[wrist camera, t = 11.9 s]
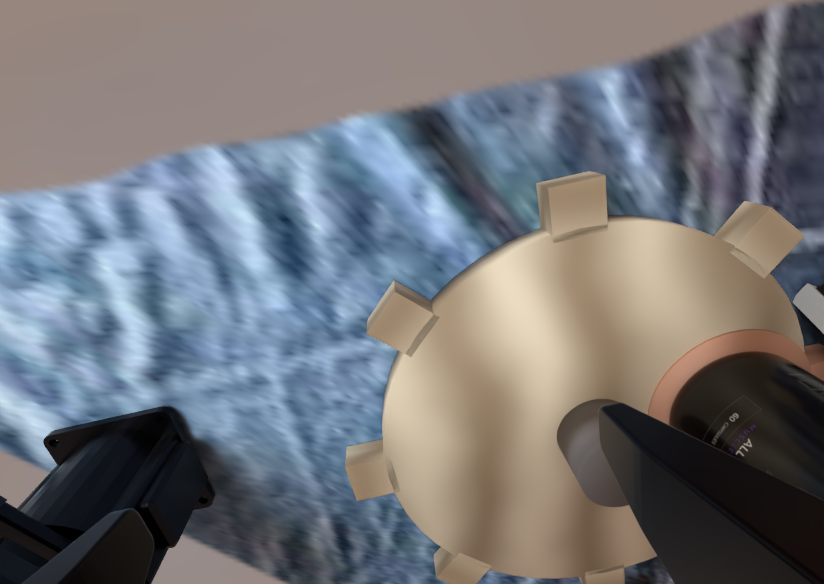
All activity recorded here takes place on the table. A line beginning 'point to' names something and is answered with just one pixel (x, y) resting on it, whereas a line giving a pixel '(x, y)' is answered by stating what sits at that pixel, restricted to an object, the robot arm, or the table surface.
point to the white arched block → (812, 304)
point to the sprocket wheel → (561, 376)
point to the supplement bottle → (758, 415)
